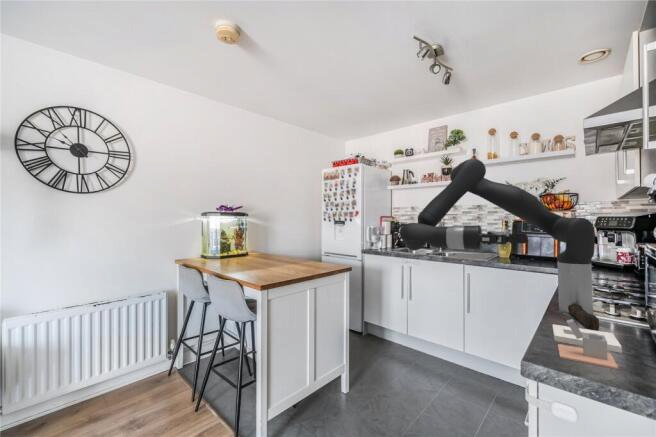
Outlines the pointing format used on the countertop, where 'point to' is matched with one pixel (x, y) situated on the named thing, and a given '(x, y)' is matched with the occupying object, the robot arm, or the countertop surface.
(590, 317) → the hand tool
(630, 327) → the countertop surface
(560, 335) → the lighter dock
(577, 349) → the mat
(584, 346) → the lighter
